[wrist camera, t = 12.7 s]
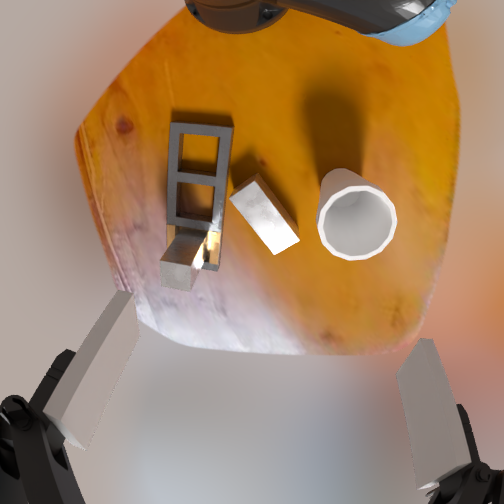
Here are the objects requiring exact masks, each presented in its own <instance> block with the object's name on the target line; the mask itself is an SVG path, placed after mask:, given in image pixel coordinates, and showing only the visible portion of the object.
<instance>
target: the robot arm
mask: <svg viewBox="0 0 504 504" xmlns="http://www.w3.org/2000/svg"><path fill="white" fill-rule="evenodd" d="M456 2H457V0H185V3H186V6H187V8H188V10H189V11H190V13H191V14H192V15H193V16H194V17H195V18H196V19H197V20H198V21H200V22H201V23H202V24H204V25H205V26H207V27H209V28H211V29H213V30H216V31H219V32H222V33H228V34H246V33H252V32H256V31H259V30H262V29H264V28H267V27H269V26H271V25H272V24H274V23H275V22H277V21H278V20H279V19H280V18H281V17H283V16H284V14H285V13H286V12H287V11H288V9H289V8H290V9H294V10H297V11H301V12H304V13H307V14H311V15H314V16H317V17H320V18H323V19H326V20H329V21H332V22H335V23H337V24H340V25H343V26H345V27H348V28H350V29H353V30H355V31H357V32H358V33H360V34H362V35H366V36H368V37H374V38H377V39H379V40H382V41H384V42H387V43H389V44H392V45H396V46H409V45H413V44H416V43H419V42H421V41H423V40H424V39H426V38H427V37H429V36H430V35H431V34H433V33H434V32H435V31H436V30H437V29H438V28H439V27H440V26H441V25H442V24H443V23H444V22H445V21H446V19H447V18H448V16H449V15H450V13H451V12H450V7H451V6H453V5H454V4H456ZM139 337H140V332H139V326H138V320H137V314H136V307H135V301H134V294H133V293H130V292H126V291H122V290H118V291H117V292H116V294H115V295H114V297H113V298H112V300H111V301H110V302H109V304H108V305H107V307H106V308H105V310H104V311H103V313H102V314H101V316H100V317H99V319H98V320H97V322H96V323H95V325H94V326H93V328H92V329H91V331H90V332H89V334H88V336H87V337H86V339H85V340H84V342H83V343H82V345H81V347H80V348H79V350H78V351H77V353H76V352H73V351H71V350H68V349H66V350H65V351H64V352H62V353H61V354H59V355H58V356H57V357H56V359H55V360H54V362H53V363H52V365H51V368H49V370H48V372H47V373H46V376H44V378H43V380H42V381H41V383H40V384H39V386H38V388H37V389H36V391H35V393H34V395H33V397H32V398H31V400H30V401H29V403H28V402H27V401H26V400H25V399H24V398H23V397H21V396H19V395H11V396H8V397H6V398H5V400H3V401H2V403H1V405H0V504H28V503H29V504H85V501H84V499H83V497H82V494H81V492H80V489H79V487H78V484H77V482H76V479H75V476H74V474H73V471H72V468H71V465H70V463H69V459H68V456H67V453H66V450H65V447H64V445H63V443H64V440H65V438H66V439H67V440H68V441H69V442H70V444H72V445H75V446H77V447H79V448H81V449H83V450H85V451H87V449H88V447H89V445H90V442H91V440H92V437H93V435H94V433H95V430H96V428H97V426H98V424H99V421H100V419H101V417H102V415H103V412H104V410H105V408H106V406H107V404H108V401H109V399H110V397H111V395H112V393H113V391H114V388H115V386H116V384H117V382H118V380H119V378H120V376H121V374H122V372H123V369H124V367H125V365H126V363H127V361H128V359H129V357H130V355H131V353H132V351H133V349H134V347H135V345H136V343H137V341H138V339H139ZM396 378H397V382H398V386H399V391H400V395H401V400H402V404H403V408H404V414H405V418H406V424H407V429H408V434H409V440H410V446H411V451H412V458H413V465H414V472H415V479H416V488H417V490H418V489H422V488H428V487H431V486H433V485H435V484H437V483H438V482H439V485H440V486H439V487H437V488H435V489H434V490H432V491H430V492H428V493H427V495H426V497H428V496H429V495H431V494H433V496H431V497H430V501H429V503H428V504H488V503H490V502H492V504H504V470H502V471H501V470H492V469H490V467H489V466H488V465H487V464H486V463H483V462H481V461H480V458H479V455H478V450H477V446H476V443H475V439H474V436H473V432H472V428H471V425H470V424H469V423H470V421H469V418H468V415H467V412H466V410H465V409H464V408H463V406H462V405H461V404H456V403H455V399H454V396H453V393H452V390H451V387H450V384H449V381H448V379H447V376H446V373H445V370H444V367H443V365H442V362H441V359H440V357H439V354H438V352H437V349H436V347H435V344H434V341H433V339H424V338H420V339H419V341H418V343H417V344H416V345H415V347H414V348H413V350H412V352H411V353H410V354H409V356H408V357H407V359H406V360H405V362H404V363H403V364H402V366H401V367H400V369H399V370H398V371H397V373H396Z"/></svg>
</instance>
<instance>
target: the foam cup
mask: <svg viewBox="0 0 504 504" xmlns="http://www.w3.org/2000/svg"><path fill="white" fill-rule="evenodd" d="M316 223H317V228H318V231H319V234H320V238H321V241H322V244H323V245H324V246H325V247H326V248H327V249H328V250H329V251H330V252H331V253H332V254H333V255H335V256H338V257H341V258H344V259H346V260H362V259H367V258H369V257H371V256H373V255H375V254H377V253H379V252H381V251H382V250H383V249H384V248H385V247H386V245H387V244H388V243H389V242H390V241H391V240H392V238H393V235H394V232H395V228H396V225H397V218H396V212H395V206H394V205H393V204H392V202H391V201H390V200H389V198H388V197H387V196H386V195H385V193H384V192H383V191H382V190H381V188H380V187H379V186H377V185H375V184H373V183H371V182H369V181H367V180H366V179H364V178H362V177H361V176H359V175H358V174H356V173H354V172H352V171H350V170H348V169H345V168H339V169H334V170H332V171H330V172H328V173H327V174H326V175H325V177H324V178H323V180H322V183H321V188H320V198H319V205H318V210H317V216H316Z"/></svg>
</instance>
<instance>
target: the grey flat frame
mask: <svg viewBox="0 0 504 504" xmlns="http://www.w3.org/2000/svg"><path fill="white" fill-rule="evenodd" d="M184 133H185V134H196V135H206V136H216V137H220V144H219V153H218V163H217V173H214V172H206V171H198V170H190V169H182V152H183V138H184ZM233 134H234V126H228V125H219V124H209V123H198V122H186V121H173V122H171V124H170V140H169V159H168V188H167V249H168V247H169V246H170V244H171V243H172V241H173V240H174V238H175V237H176V235H177V234H178V232H179V226H180V230H181V228H182V227H189V228H195V229H201V230H207V231H209V242H208V253H207V256H206V258H205V260H204V262H203V265H202V267H201V269H206V270H212V271H218V269H219V266H220V257H221V246H222V235H223V225H224V215H225V205H226V195H227V186H228V177H229V168H230V159H231V150H232V142H233ZM181 182H186V183H193V184H201V185H208V186H215V195H214V207H213V217H209V216H202V215H196V214H189V213H183V212H180V190H181Z"/></svg>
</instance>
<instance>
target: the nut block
mask: <svg viewBox="0 0 504 504" xmlns="http://www.w3.org/2000/svg"><path fill="white" fill-rule="evenodd" d="M229 199H230V200H231V202H232V203H233V204H234V205H235V206H236V208H237V209H238V210H239V211H240V213H241V214H242V215H243V216H244V218H245V219H246V220H247V221H248V223H249V224H250V225H251V226H252V228H253V229H254V230H255V231H256V233H257V234H258V235H259V236H260V238H261V239H262V240H263V241H264V243H265V244H266V245H267V246H268V248H269V249H270V250H271V251H272V253H273V254H274V255H275V254H277V253H278V252H280V251H282V250H284V249H285V248H287V247H289V246H291V245H292V244H294V243H296V242H297V241H299V228H298V226H297V225H296V223H295V222H294V221H293V219H292V218H291V216H290V215H289V214H288V212H287V211H286V210H285V208H284V207H283V206H282V204H281V203H280V202H279V200H278V199H277V197H276V196H275V195H274V193H273V192H272V191H271V189H270V188H269V187H268V185H267V184H266V183H265V182H264V180H263V179H262V178H261V176H260V175H259V174H258V172H257V173H256V174H255V175H253V176H252V177H250V178H249V179H247V180H246V181H244V182H243V183H241V184H240V185H239V186H237V187H236V188H234V190H233V192H232V194H231V196H230V198H229Z"/></svg>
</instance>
